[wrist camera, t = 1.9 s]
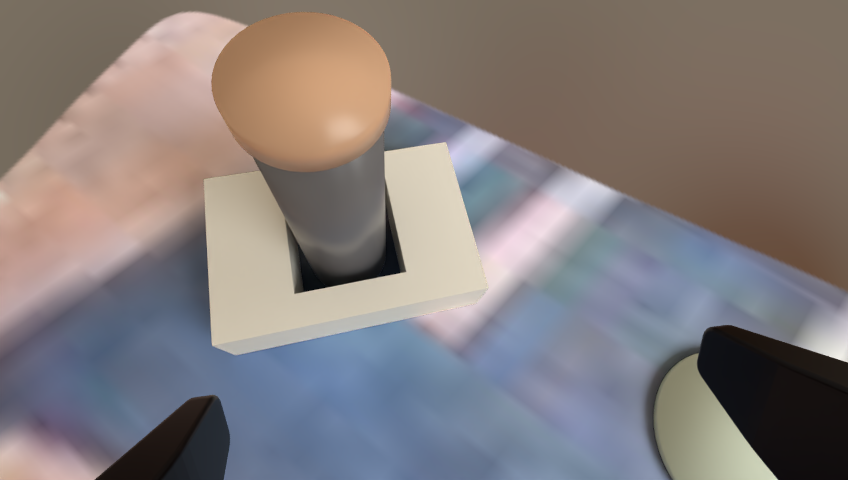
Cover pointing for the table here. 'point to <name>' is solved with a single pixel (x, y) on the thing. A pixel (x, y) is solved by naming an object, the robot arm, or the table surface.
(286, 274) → the square frame
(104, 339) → the table surface
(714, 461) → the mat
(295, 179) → the plug
